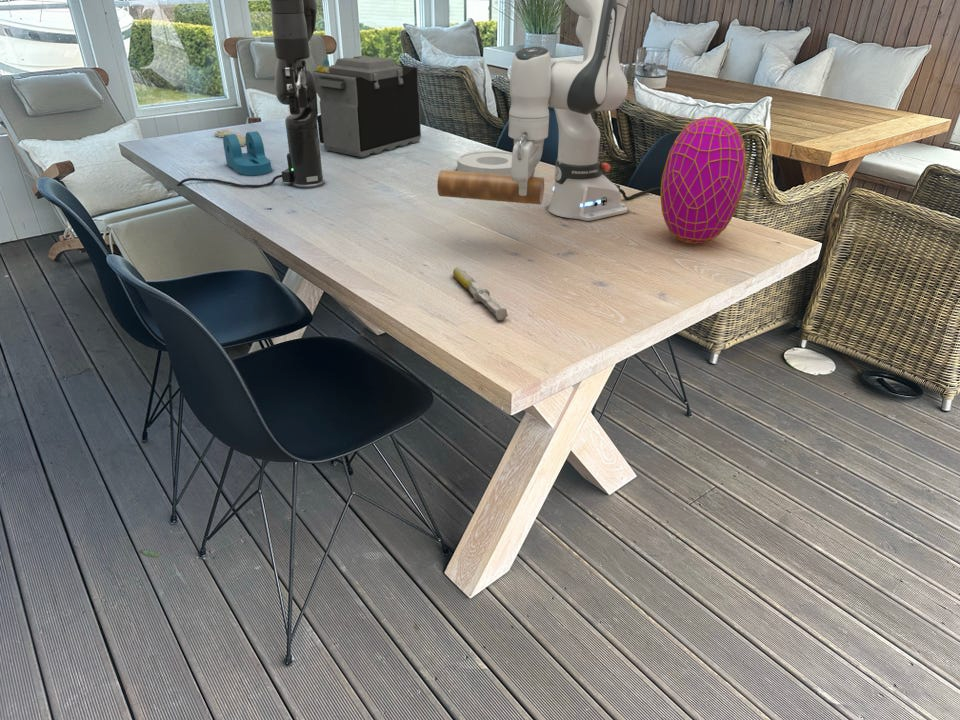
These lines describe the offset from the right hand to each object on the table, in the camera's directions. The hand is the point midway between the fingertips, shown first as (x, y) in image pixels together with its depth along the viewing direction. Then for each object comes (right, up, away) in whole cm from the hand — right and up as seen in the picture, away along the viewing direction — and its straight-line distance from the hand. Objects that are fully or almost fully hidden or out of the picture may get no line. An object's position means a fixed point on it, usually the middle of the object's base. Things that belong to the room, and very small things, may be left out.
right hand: (525, 190), depth 159 cm
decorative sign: (-105, +46, +107) cm, 157 cm away
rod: (-8, -2, +3) cm, 9 cm away
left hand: (-53, +20, +4) cm, 57 cm away
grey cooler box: (-51, +41, +100) cm, 119 cm away
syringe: (-11, -26, -14) cm, 31 cm away
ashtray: (-7, +24, +71) cm, 75 cm away
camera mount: (-87, +25, +71) cm, 115 cm away
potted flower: (-75, +64, +137) cm, 169 cm away
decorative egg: (+43, -9, +16) cm, 47 cm away
